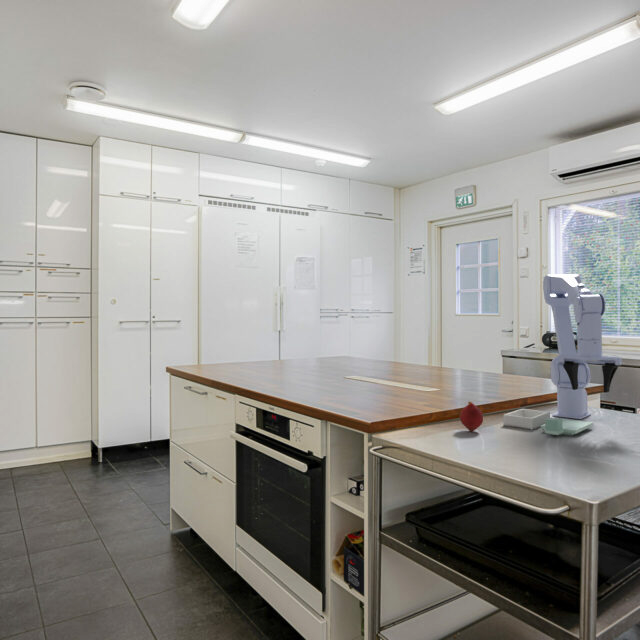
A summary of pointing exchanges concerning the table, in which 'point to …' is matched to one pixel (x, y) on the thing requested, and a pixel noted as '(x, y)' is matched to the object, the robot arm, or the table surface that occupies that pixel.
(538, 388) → the table surface
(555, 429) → the lid
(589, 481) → the table surface
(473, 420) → the onion
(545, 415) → the tub
